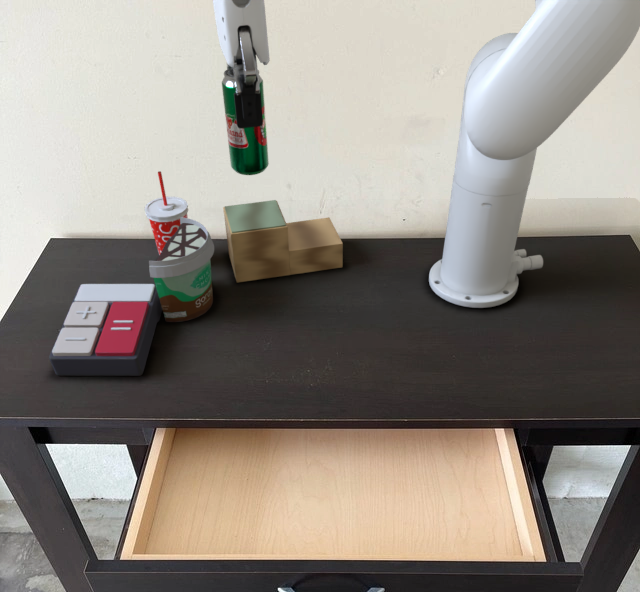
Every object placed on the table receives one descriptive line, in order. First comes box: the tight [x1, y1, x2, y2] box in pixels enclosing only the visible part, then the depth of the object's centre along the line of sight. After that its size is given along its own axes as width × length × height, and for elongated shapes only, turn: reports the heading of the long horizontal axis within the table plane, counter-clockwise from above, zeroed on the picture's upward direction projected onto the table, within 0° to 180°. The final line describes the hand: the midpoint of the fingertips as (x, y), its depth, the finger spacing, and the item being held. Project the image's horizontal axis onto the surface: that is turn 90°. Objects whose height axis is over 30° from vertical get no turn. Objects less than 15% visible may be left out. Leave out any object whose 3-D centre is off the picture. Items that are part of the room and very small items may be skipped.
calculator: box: [48, 283, 163, 377], centre depth 86 cm, size 11×4×15 cm
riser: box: [222, 199, 344, 283], centre depth 97 cm, size 16×8×8 cm, turn 104°
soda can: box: [221, 68, 270, 176], centre depth 84 cm, size 5×5×12 cm
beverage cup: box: [144, 170, 189, 256], centre depth 95 cm, size 6×6×14 cm
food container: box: [148, 217, 215, 323], centre depth 89 cm, size 12×6×10 cm, turn 168°
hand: (246, 116), depth 84 cm, fingers closed on soda can, 5 cm apart
